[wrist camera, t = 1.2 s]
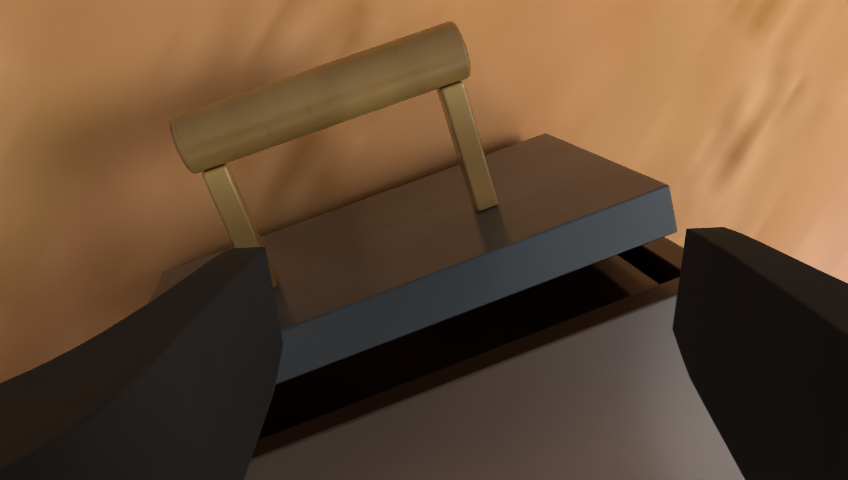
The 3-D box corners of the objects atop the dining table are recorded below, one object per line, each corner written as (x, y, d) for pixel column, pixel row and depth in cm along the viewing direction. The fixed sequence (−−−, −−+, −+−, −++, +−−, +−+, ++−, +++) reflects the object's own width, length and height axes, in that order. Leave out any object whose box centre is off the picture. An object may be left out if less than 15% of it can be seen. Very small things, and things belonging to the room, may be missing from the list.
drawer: (93, 131, 20) (-19, 194, 12) (510, -12, 21) (629, -30, 13) (313, 573, 26) (324, 785, 19) (624, 446, 27) (747, 600, 20)
